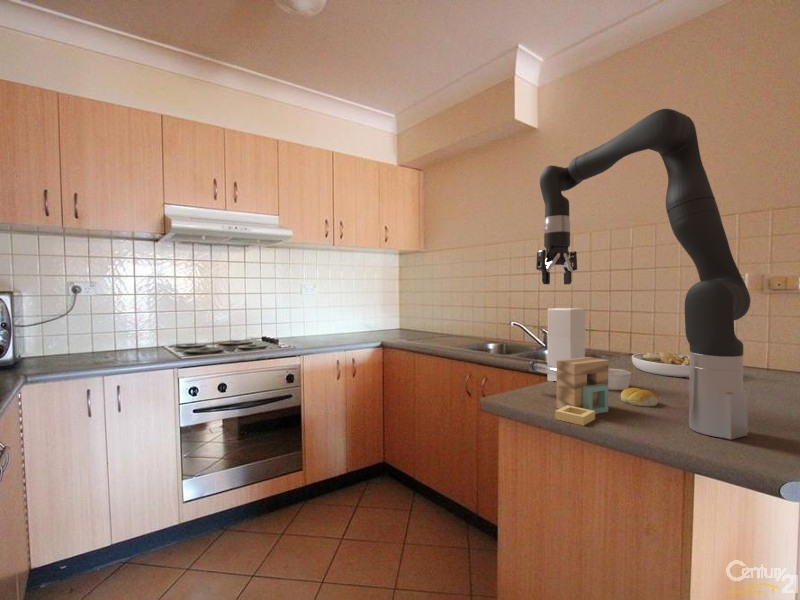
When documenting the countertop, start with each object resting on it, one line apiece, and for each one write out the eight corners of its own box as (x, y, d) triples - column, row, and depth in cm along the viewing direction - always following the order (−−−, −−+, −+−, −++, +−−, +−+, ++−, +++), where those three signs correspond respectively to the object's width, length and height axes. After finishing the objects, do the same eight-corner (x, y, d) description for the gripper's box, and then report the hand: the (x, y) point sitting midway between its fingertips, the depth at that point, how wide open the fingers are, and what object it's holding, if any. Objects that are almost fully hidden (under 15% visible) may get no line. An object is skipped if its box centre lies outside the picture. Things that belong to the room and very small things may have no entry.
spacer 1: (595, 419, 97) (595, 410, 97) (583, 425, 92) (583, 417, 92) (567, 412, 102) (567, 405, 102) (555, 419, 97) (555, 410, 97)
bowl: (620, 371, 153) (620, 351, 153) (645, 361, 174) (645, 343, 174) (719, 385, 131) (719, 361, 131) (734, 371, 152) (734, 351, 152)
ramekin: (610, 382, 136) (610, 366, 136) (639, 389, 125) (639, 372, 125) (584, 385, 132) (584, 369, 132) (613, 393, 122) (613, 375, 121)
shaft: (587, 383, 107) (587, 371, 106) (578, 385, 105) (578, 372, 105) (536, 370, 124) (536, 359, 124) (528, 371, 123) (528, 360, 123)
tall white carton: (571, 385, 131) (571, 309, 130) (547, 380, 138) (547, 308, 137) (585, 381, 136) (585, 308, 136) (561, 377, 143) (561, 307, 143)
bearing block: (608, 408, 106) (608, 360, 106) (574, 413, 101) (574, 364, 101) (589, 402, 111) (589, 356, 111) (556, 407, 107) (556, 360, 106)
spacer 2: (608, 411, 103) (608, 385, 103) (588, 415, 100) (589, 388, 100) (601, 409, 105) (601, 383, 104) (582, 412, 102) (582, 386, 102)
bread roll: (637, 397, 117) (637, 384, 117) (663, 406, 108) (663, 391, 108) (612, 399, 115) (613, 385, 115) (638, 408, 106) (638, 393, 106)
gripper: (548, 229, 118) (548, 284, 118) (583, 231, 123) (583, 284, 124) (530, 232, 124) (530, 284, 125) (565, 234, 130) (565, 284, 130)
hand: (557, 284), depth 124 cm, fingers open, 8 cm apart
